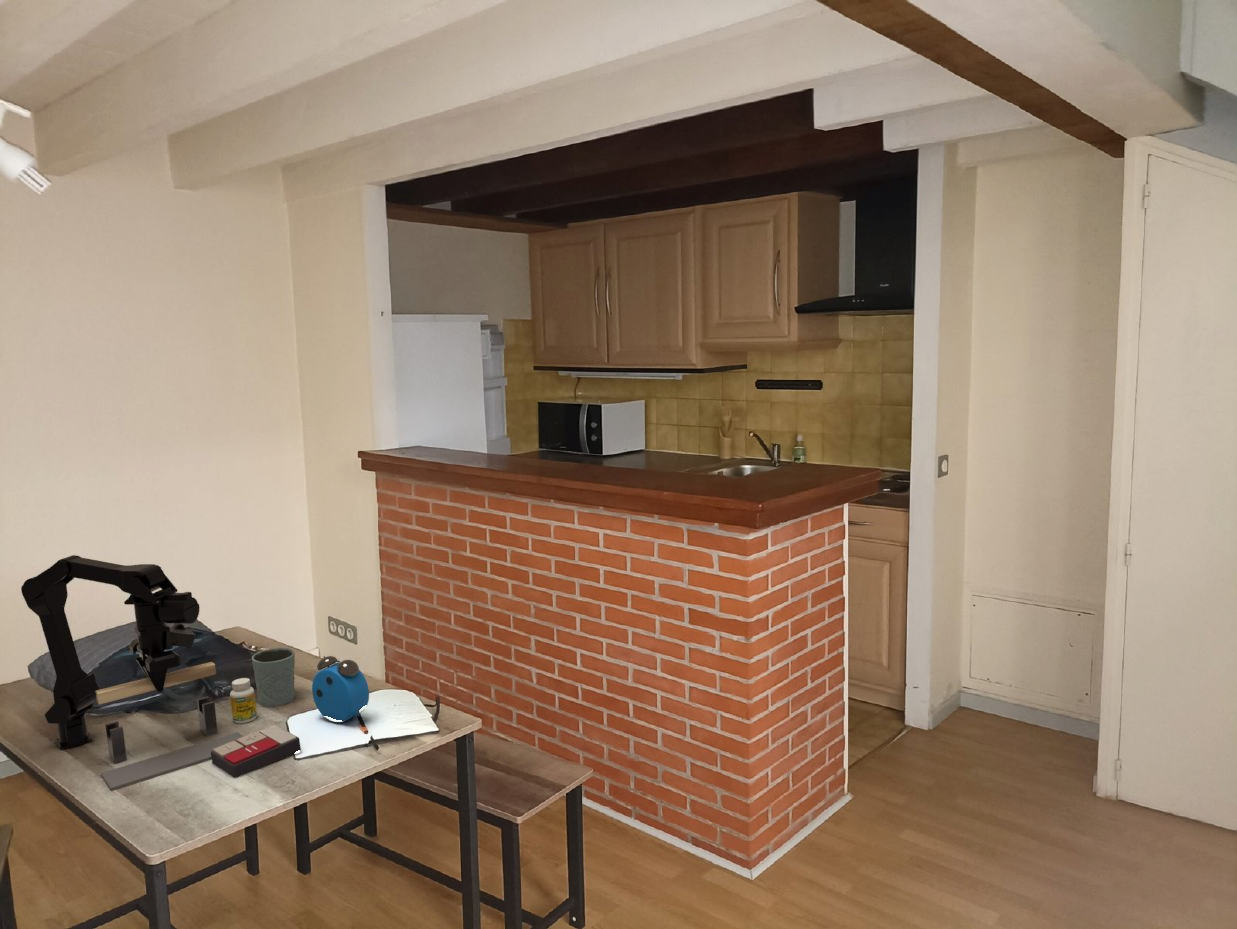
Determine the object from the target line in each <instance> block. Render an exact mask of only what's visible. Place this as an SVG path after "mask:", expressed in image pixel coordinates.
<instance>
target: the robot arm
mask: <svg viewBox="0 0 1237 929" xmlns="http://www.w3.org/2000/svg"><path fill="white" fill-rule="evenodd" d="M75 578H76V579H79V580H83V581H84V580H85V581H91V582H96V583H100V584H107V585H112V586H115V587H117V588H118V589H120V590H121V592H124V593H126V594H129V597H127V599H126V600H125V601H124V602H123V603H124V605H128V606H130V605H133V607H134V609H133V610H134V616H135V618H134V619H135V625H136V627H134V633H136V635H137V638H135V639H133V640H132V641H131V642H130V643H129V644H128V645H129V653H130V654H131V655H132V656H134V655H137V653H138V655H139V657H136V658H135V660H136V662H137V664H138V665H139V667H140V668H141V670H142V671H143V673H144V675H145V676H146V678H150V680H151V682H152V683H153V685H154V687H155V689H156V690H155V691H156V692H157V693H161V692H163V691H164V683H165V677H166V673H168V669H172V668H177V667H180V666H181V665H182V662H181V656H180V655H179V654H178V653H176V652H175V651H173V647H182V648H187V649H193V646H194V643H195V639H196V632H193V631H192V630H190V629H188V628H186V627H185V625H184V624H187V625H188V624H190V625H191V624H194V623H195V622H196V621H197V620H198V618H199V614H200V610H201V609H200V603H198V600H197V599H196V598H195V597H193V594H192V592H191V591H184V592H178V589H177V587H176V586H175V585H174V584H173V582H172V581H171V580H170V579H169V578H168V577H167V575H166V574H165V572H164V570H163V569H162V567H161V566H160V565H158V564H155V563H153V564H152V563H151V564H149V563H148V564H147V563H141V564H140V563H139V564H131V565H123V564H119V563H113V562H107V561H103V560H98V559H97V560H96V559H91V558H86V557H82V556H80V555H77V554H76V555H75V554H74V555H69V556H66V557H63V558H61V559H58V560H57V561H56V562H55V563H54V564H52V565H51V566H49V567H48V568H47V569H45V570H44V571H42V572H41V573H39V574H37V575H36V576H33V577H31V578H28V579H25V581H24V583H23V584H22V585H21V588H20V589H21V595H22V597H23V599H24V601H25V604H26V605H27V608H29V609H30V610H31V611H32V612H33V613H34V614H36V616H38V618H39V621H40V624H41V627H42V631H43V632H42V633H43V635H44V638H45V641H46V645H47V648H48V652H49V656H50V660H51V661H52V666H53V670H54V671H55V672H54V673H55V676H56V677H55V682H54V686H53V690H52V694H53V704H52V706H51V707H50V708H49V709H48V710H47V711H46V712H45V714H44V717H45V720H46V721H47V724H55V725H56V727H57V734H58V738H55V743H56V745H57V746H58V748H59V750H65V749H68V748H73V747H77V746H78V745H79V746H80V745H83V744H86V743H89V742H93V737H92V735H91V734H90V732H89V731H88V724H87V716H86V712H88V711H90V710H92V709H93V707H94V704H95V701H97V699H96V690H100V688H99V685H98V684H97V680H96V675H95V673H93V672H92V673H90V674H88V673H87V672H86V671H85V670H83V668H82V667H81V666H82V665H81V663H80V659H79V657H78V652H77V649H76V646H75V643H74V638H73V636H72V632H71V629H70V624H69V623H68V618H67V614H66V611H65V607H66V604H67V599H68V596H69V595H68V588H67V585H68V584H69V583H71V581H74V579H75ZM167 624H173V625H172V627H170V626H168V625H167Z"/></svg>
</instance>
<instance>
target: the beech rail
mask: <svg viewBox="0 0 1237 929" xmlns="http://www.w3.org/2000/svg"><path fill="white" fill-rule="evenodd" d="M214 675H217V670H216V664H215V663H214V662H213V661H210V662H206V663H202V664H198V665H192V666H189V667H186V668H182V669H178V670H173V671H169V672H167V673H166V677H165V683H164V688H168V687H172V686H177V685H179V684H183V683H187V682H193V681H195V680H200V679H203V678H207V677H212V676H214ZM164 688H163V689H164ZM153 691H157V690H156V689H155V687H154V685H153V683H152V682H151V680H150V678H147V677H146V678H141V679H138V680H133V681H129V682H126V683H125V682H124V683H121V684H117V685H112V686H108V687H106V688H105V687H104V688H101V689H100V688H99V690H96V703H98V705H103V704H107V703H110V702H115V701H118V700H122V699H126V698H131V697H135V696H137V695H141V694H146V693H149V692H153Z"/></svg>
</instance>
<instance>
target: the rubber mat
mask: <svg viewBox="0 0 1237 929" xmlns="http://www.w3.org/2000/svg"><path fill="white" fill-rule="evenodd" d="M241 737H244V736H243V735H242V734H241V733H240V732H239V731H236V732H232V733H229V734H226V735H223V736H219V737H215V738H212V739H209V740H206V741H202V742H199V743H196V744H193V745H190V746H186V747H183V748H179V749H176V750H172V751H169V752H166V753H162V754H159V755H156V756H153V757H149V758H145V759H142V760H139V761H136V762H132V763H130V764H126V765H123V766H119V767H115V768H113V769H110V770H109V769H108V770H106V771H103V772H101V773H100V775H101V778H103V781H104V782H105V783H106V785H107V787H108V788H109V790H110V791H115V790H119V789H122V788H124V787H128V786H131V785H134V784H137V783H140V782H144V781H147V780H150V779H154V778H157V777H159V776H162V775H163V776H164V775H166V774H169V773H173V772H175V771H178V770H183V769H185V768H188V767H191V766H195V765H197V764H201V763H204V762H206V761H212V758H211V751H213V749H214V748H217V747H219V746H222V745H224V744H227V743H229V742H232V741H237V739H239V738H241Z"/></svg>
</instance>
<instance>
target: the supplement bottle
mask: <svg viewBox="0 0 1237 929" xmlns="http://www.w3.org/2000/svg"><path fill="white" fill-rule="evenodd" d="M231 688H232V690H231V691H230V693H229V696H230V706H231V715H232V716H231V717H232V722H234V723H236V724H246V723H250V722H253V721H254V720H255V719H256V718H257V717H258V715H257V714H258V712H257V705H256V704H257V703H256V697H255V696H256V695H255V689H254V687H252V686H251V680H250V678H248V677H241V678H237V679H234V680H232V682H231Z"/></svg>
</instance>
